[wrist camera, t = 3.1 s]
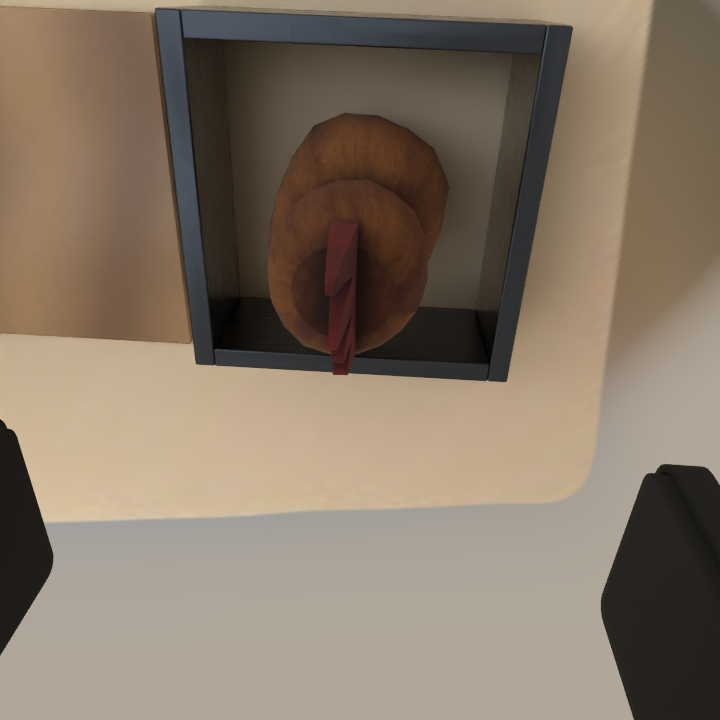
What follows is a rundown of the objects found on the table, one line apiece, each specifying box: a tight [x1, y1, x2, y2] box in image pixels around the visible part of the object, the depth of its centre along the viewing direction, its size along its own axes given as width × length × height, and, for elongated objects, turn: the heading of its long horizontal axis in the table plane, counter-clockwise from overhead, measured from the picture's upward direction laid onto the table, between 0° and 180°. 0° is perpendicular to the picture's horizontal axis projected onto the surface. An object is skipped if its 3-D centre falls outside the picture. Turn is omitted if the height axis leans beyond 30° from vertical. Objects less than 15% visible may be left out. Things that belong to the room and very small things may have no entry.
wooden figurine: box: [267, 113, 449, 375], centre depth 19 cm, size 7×6×15 cm
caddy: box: [155, 6, 573, 382], centre depth 24 cm, size 13×13×5 cm
